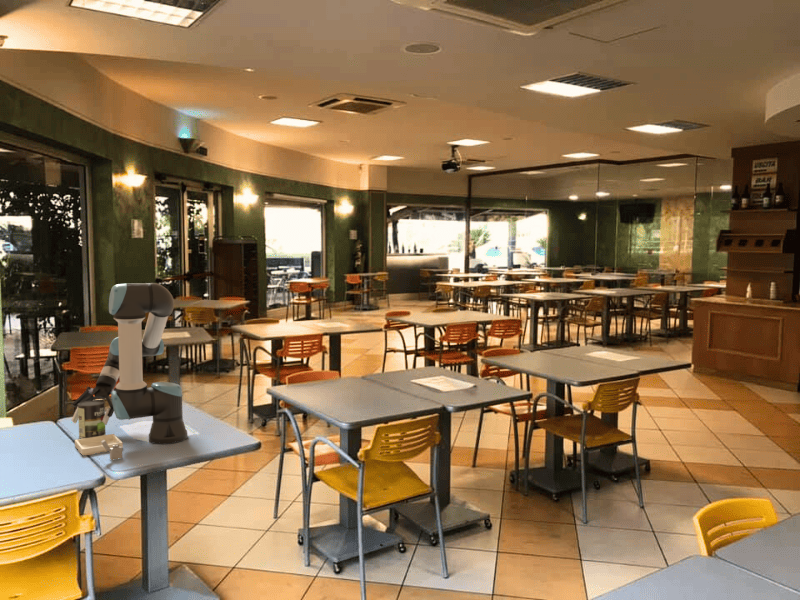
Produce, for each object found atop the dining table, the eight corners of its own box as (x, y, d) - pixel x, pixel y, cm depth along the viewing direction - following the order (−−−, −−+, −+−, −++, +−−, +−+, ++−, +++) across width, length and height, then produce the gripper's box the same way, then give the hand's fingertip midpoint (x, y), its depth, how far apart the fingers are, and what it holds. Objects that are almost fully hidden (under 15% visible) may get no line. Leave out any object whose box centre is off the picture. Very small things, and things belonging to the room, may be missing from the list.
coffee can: (111, 433, 284) (109, 400, 283) (95, 440, 274) (94, 406, 273) (89, 431, 286) (88, 399, 285) (73, 438, 276) (71, 405, 275)
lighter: (121, 457, 253) (120, 436, 252) (122, 458, 252) (121, 437, 251) (101, 461, 249) (100, 440, 248) (102, 462, 247) (101, 441, 247)
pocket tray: (122, 449, 263) (122, 442, 263) (82, 455, 254) (82, 449, 254) (113, 440, 275) (113, 433, 275) (74, 446, 266) (74, 439, 266)
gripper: (138, 384, 293) (120, 428, 279) (85, 383, 296) (65, 425, 282) (131, 375, 287) (113, 418, 273) (77, 373, 290) (56, 416, 277)
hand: (88, 422), depth 278 cm, fingers open, 13 cm apart
